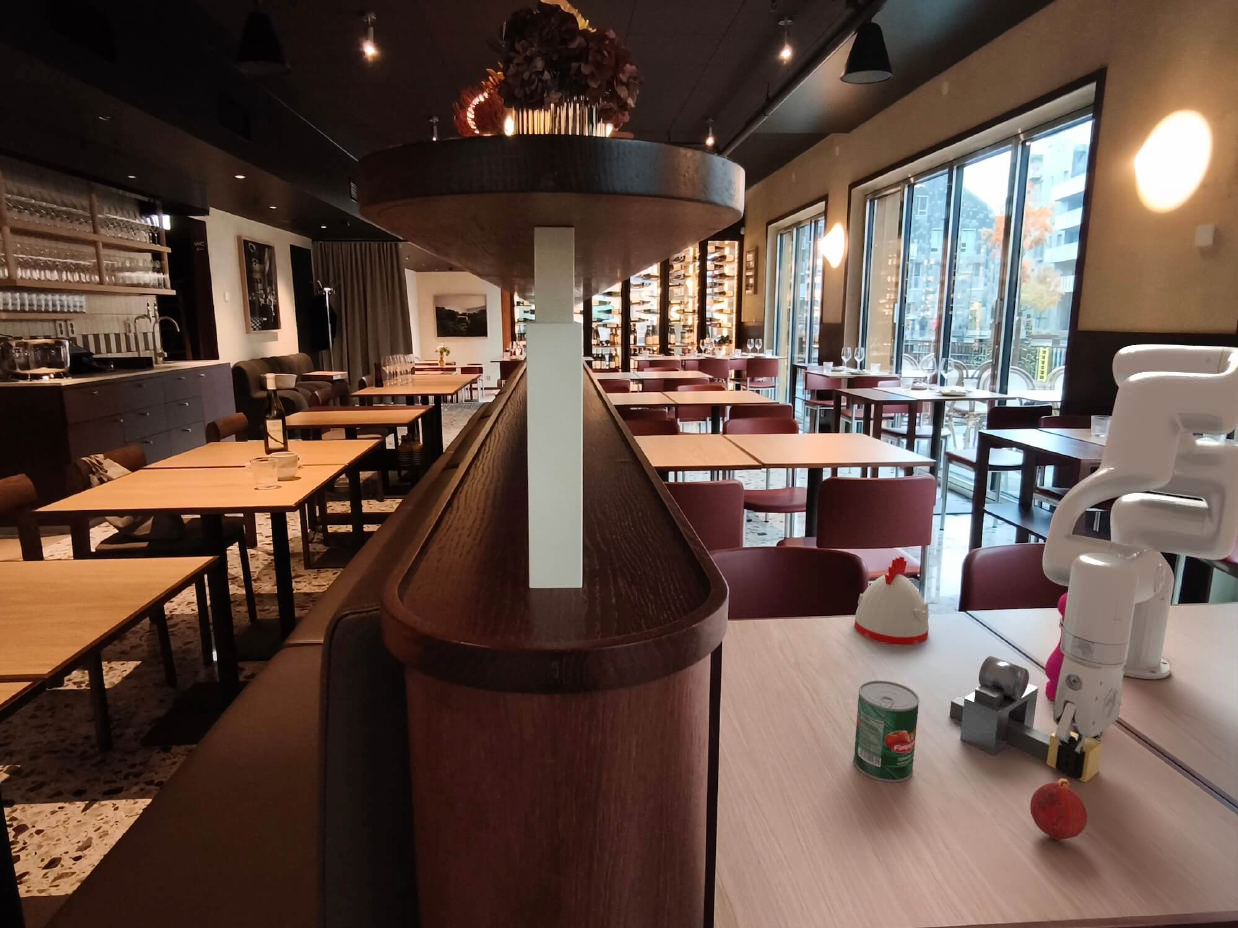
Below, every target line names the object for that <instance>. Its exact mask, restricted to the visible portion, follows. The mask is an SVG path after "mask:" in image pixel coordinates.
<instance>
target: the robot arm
mask: <svg viewBox="0 0 1238 928" xmlns="http://www.w3.org/2000/svg"><path fill="white" fill-rule="evenodd" d="M1112 373H1113V378H1114V381H1115V384H1116V385H1117V386H1118V390H1117V393H1116V397H1115V401H1114V405H1113V409H1112V414H1111V419H1110V423H1109V427H1108V433H1107V435H1106V436H1107V437H1106V440H1105V445H1104V449H1103V453H1102V459H1101V463H1100V465H1099V467H1098V468H1097V470H1096V471H1095V472H1093V473H1091V474H1090V475H1089V476H1087V477H1085V478H1084V479H1082V480H1080V481H1079V482H1078V483H1077V484H1075V485H1074V486H1072V488H1071V489H1070V490H1068V492H1067V493H1066V494H1065V495H1064V497H1062V499H1061V500H1060V501H1059V503H1058V504H1057V506H1056V508H1055V510H1054V511H1053V514H1052V517H1051V520H1050V524H1049V529H1048V531H1047V532H1048V533H1047V536H1046V541H1045V545H1044V549H1043V554H1042V569H1043V573H1044V575H1045V576H1046V578H1048V579H1049V580H1050V581H1051V582H1052V583H1055V584H1058V585H1060V586H1065V587H1068V588H1067V589H1068V590H1067V593H1068V595H1067V602H1066V610H1065V617H1064V624H1063V632H1062V639H1061V646H1060V650H1061V652H1062V653H1063V654H1064V655H1065V656H1064V660H1063V664H1062V668H1061V672H1060V676H1059V681H1058V686H1057V691H1056V697H1055V701H1054V703H1053V715H1052V716H1053V721H1054V723H1055V724H1056V725H1057V727H1056V730H1055V731H1054V732H1055V737H1056V738H1057V739H1058V751H1057V758H1056V766H1055V767H1056V770H1058V771H1060V772H1062V773H1064V774H1066V775H1068V776H1070V777H1073V778H1075V779H1076V780H1079V779H1080V778H1081V777H1082V774H1083V767H1084V760H1085V753H1086V752H1083V747H1084V743H1085V738H1086V737H1088V738H1091V737H1092V738H1094V739H1096V740H1099V741H1101V739H1102V737H1103V735H1104V734H1103V733H1104V731H1105V730H1106V729H1107V728H1108V727H1109V726H1111V725H1113V724H1114V723H1115V722H1116V721H1117V720H1118V718H1119V716H1120V712H1121V705H1122V704H1121V703H1122V696H1123V695H1122V694H1123V685H1124V676H1125V677H1129V678H1135V679H1140V680H1141V679H1142V680H1143V679H1144V680H1158V679H1159V680H1161V679H1165V678H1166V677H1168V676H1169V675H1170V673H1171V670H1172V667H1171V664H1170V663H1169V661H1167V660H1166V659H1165V658H1163V657H1162V656H1163V650H1164V646H1165V645H1164V643H1165V637H1166V631H1167V626H1168V619H1169V613H1170V607H1171V602H1172V596H1173V591H1174V585H1175V584H1174V583H1175V577H1174V576H1175V575H1174V572H1173V570H1172V567H1171V565H1170V564H1169V563H1168V562H1167V561H1168V560H1166V559H1165V557H1164V556H1163V554H1162V553H1171V554H1175V555H1182V556H1187V557H1193V558H1198V559H1203V560H1204V559H1206V560H1224V559H1226V558H1227V557H1228V556H1230V555H1231V553H1232V552H1233V550H1234V549H1235V545H1236V542H1237V539H1238V445H1236V444H1233V443H1229V442H1224V441H1217V440H1206V439H1196V438H1194V434H1199V435H1200V434H1203V435H1214V436H1225V435H1228V434H1230V433H1232V432H1233V431H1234V430H1235V429H1236V428H1238V347H1234V346H1230V347H1229V346H1208V345H1207V346H1204V345H1202V346H1201V345H1195V346H1194V345H1180V344H1136V345H1130V346H1126V347H1122V348H1121V349H1119V350H1118V351H1117V352H1116V353H1115V355H1114V358H1113V361H1112ZM1144 492H1153V493H1144ZM1154 493H1160V494H1154ZM1162 494H1167V495H1162ZM1168 495H1169V496H1168ZM1170 495H1173V496H1170ZM1176 496H1177V497H1176ZM1178 496H1182V497H1189V499H1188V498H1181V497H1178ZM1114 498H1117V499H1116V500H1115V501H1114V503H1113V504H1112V507H1111V510H1110V540H1106V539H1100V538H1096V537H1095V538H1094V537H1090V536H1083V535H1079V534H1073V532H1074V528H1075V526H1076V522H1077V520H1078V519H1079V518H1080V516H1081V515H1082V514H1083V513H1084V512H1085V511H1086V510H1088V509H1089V508H1091V507H1092V506H1094V505H1097V504H1099V503H1101V502H1104V501H1107V500H1110V499H1114ZM1190 498H1197V499H1201V500H1197V499H1196V500H1195V499H1190ZM1074 724H1075V725H1074ZM1071 731H1072V732H1074V733H1076V734H1079V735H1078V739H1077V740H1076V738H1075V737H1073V736H1071V734H1070V732H1071ZM1101 742H1102V741H1101Z"/></svg>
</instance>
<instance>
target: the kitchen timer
mask: <svg viewBox="0 0 1238 928" xmlns="http://www.w3.org/2000/svg"><path fill="white" fill-rule="evenodd" d="M907 563H908V561H907V560H905V556H899V557H898V558H897V557H895V559H892V560H891V566H888V567H887V568H888V569H887V570H888V573H885V574H883V575H880V576H879V577H878V578H877V579H875V580H874V581H873V582H872V583H870V585H869V586H868V587H867V588H866V589H865V591H863V593H860V594H859V597H858V601H857V604H858V606H857V609H856V612H855V616H854V617H855V620H854V628H855V630H856V631H857V632H858V634H859V633H860V635H862V636H864V637H866V638H868V639H871V640H873V641H876V642H879V643H883V642H884V643H883V644H888V645H889V644H890V645H895V646H896V645H898V646H907V645H908V646H909V645H910V646H911V645H917V644H920V643H923V642H925V641H927V639H928V637H929V626H930V625H929V618H930V617H929V616H930V615H929V614H930V613H929V602H927V601H924V599H923V597H922V594H921V593H920V591H919V590H918V588H917V587H916V586H915V584H914V583H913V582H912V581H911V580H910V579H908V578H907V577H906V576H904V575H905V570H906V569H907V568H906V567H907Z"/></svg>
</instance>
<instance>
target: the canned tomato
mask: <svg viewBox="0 0 1238 928" xmlns="http://www.w3.org/2000/svg"><path fill="white" fill-rule="evenodd" d="M857 699H858V700H857V713H856V726H855V737H854V739H855V740H854V754H853V763H854V765H855V767H856V769H858V771H859V772H861V773H862V774H863V775H865V776H867V777H868V778H871V779H874V780H876V781H880V782H884V783H900V782H904V781H907V780H909V779H910V778H911V776H912V775H913V773H914V769H913V767H914V760H915V759H914V758H915V749H916V740H917V739H916V738H917V737H916V736H917V727H918V726H917V725H918V719H919V718H918V715H919V705H920V697H919V695H918V694H917V693H916V692H915V691H914V690H913V689H911V688H910V687H908V686H906V685H904V684H900V683H897V682H895V681H890V680H889V681H888V680H880V679H879V680H869V681H866V682H863V683H862V684H860V686H859V687H858V698H857Z"/></svg>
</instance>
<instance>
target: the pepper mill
mask: <svg viewBox="0 0 1238 928" xmlns="http://www.w3.org/2000/svg"><path fill="white" fill-rule="evenodd" d="M1067 595H1068V592H1065V593H1064V594H1062V595H1061V596H1060V598H1059V600H1058V603H1057V611H1058V613H1059V614H1060V615H1061V617H1060V618H1059V619H1058V620H1059V623H1058V627H1059V628H1060V637H1059V641H1058V643H1057V645H1056V647H1055V649H1054V650H1053V651H1052V653H1050V655H1049V657H1048V658H1047V661H1046V663H1045V667H1044V672H1045V673H1044V674H1045V675H1046V677H1047V679H1048V681H1047V682H1046V684H1045V690H1044V691H1045V692H1044V693H1045V696H1047V698H1049V699H1050V700H1051V701H1053V702H1055V697H1056V691H1057V686H1058V681H1059V676H1060V672H1061V668H1062V664H1063V660H1064V656H1065V655H1064V654H1063V653H1062V652H1061V650H1060V646H1061V639H1062V632H1063V624H1064V617H1065V610H1066V602H1067Z"/></svg>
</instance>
